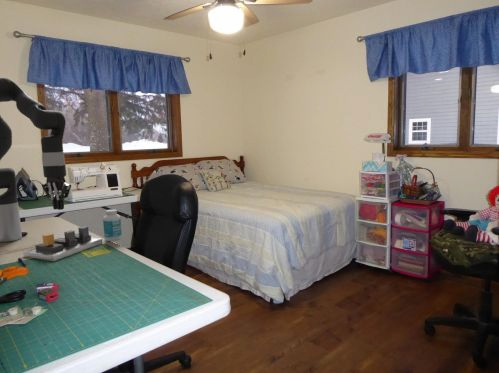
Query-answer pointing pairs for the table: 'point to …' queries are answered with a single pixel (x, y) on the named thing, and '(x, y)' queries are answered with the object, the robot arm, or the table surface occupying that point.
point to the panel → (56, 257)
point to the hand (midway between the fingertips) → (58, 209)
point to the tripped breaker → (48, 239)
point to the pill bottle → (112, 226)
